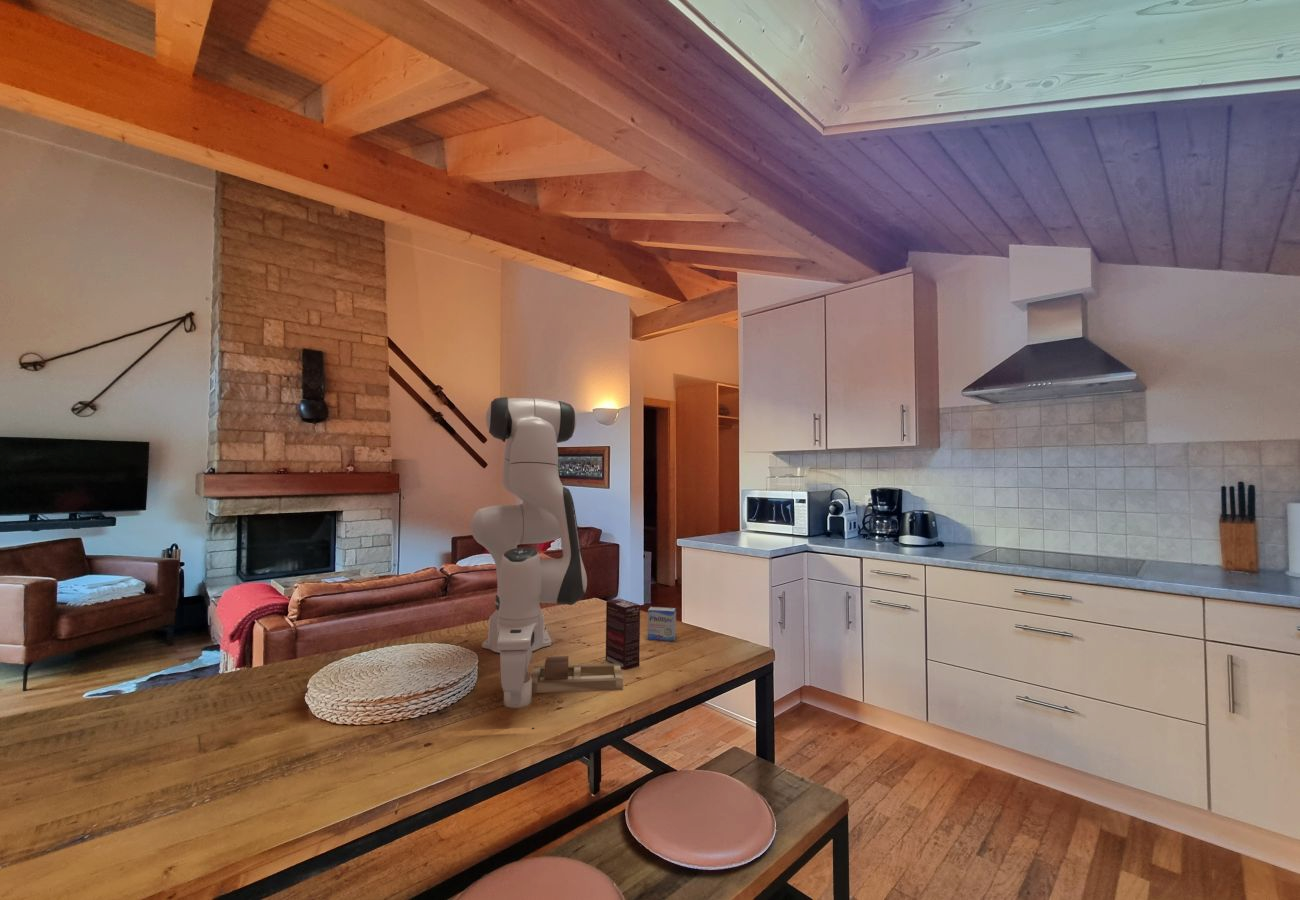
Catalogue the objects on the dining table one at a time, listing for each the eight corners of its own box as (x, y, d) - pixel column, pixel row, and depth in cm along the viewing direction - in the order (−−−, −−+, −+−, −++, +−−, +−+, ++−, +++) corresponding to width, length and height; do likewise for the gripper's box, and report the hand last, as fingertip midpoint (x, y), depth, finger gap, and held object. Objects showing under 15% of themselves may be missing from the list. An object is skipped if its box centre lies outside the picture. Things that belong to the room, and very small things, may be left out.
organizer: (534, 679, 123) (534, 666, 123) (619, 676, 125) (619, 663, 126) (529, 697, 113) (529, 683, 113) (622, 693, 115) (622, 680, 116)
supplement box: (640, 669, 130) (641, 604, 130) (624, 674, 127) (625, 607, 127) (619, 659, 136) (620, 597, 137) (604, 663, 133) (605, 600, 134)
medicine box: (647, 640, 152) (647, 609, 153) (649, 635, 157) (650, 605, 157) (674, 641, 151) (674, 611, 151) (676, 637, 155) (676, 607, 156)
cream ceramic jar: (505, 701, 111) (506, 671, 112) (532, 700, 112) (533, 670, 112) (501, 713, 106) (502, 681, 106) (529, 712, 106) (530, 680, 107)
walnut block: (546, 678, 121) (546, 656, 121) (568, 677, 122) (568, 655, 122) (544, 687, 116) (544, 664, 116) (567, 686, 117) (567, 663, 117)
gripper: (510, 614, 119) (509, 676, 119) (495, 644, 99) (493, 719, 99) (539, 614, 120) (538, 675, 120) (529, 643, 100) (528, 718, 99)
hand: (518, 696), depth 109 cm, fingers closed on cream ceramic jar, 6 cm apart
